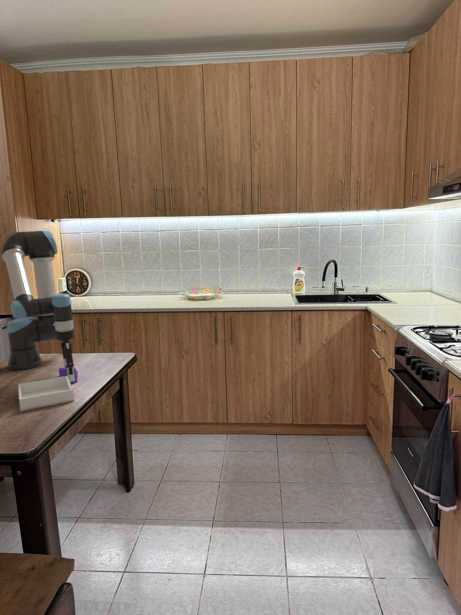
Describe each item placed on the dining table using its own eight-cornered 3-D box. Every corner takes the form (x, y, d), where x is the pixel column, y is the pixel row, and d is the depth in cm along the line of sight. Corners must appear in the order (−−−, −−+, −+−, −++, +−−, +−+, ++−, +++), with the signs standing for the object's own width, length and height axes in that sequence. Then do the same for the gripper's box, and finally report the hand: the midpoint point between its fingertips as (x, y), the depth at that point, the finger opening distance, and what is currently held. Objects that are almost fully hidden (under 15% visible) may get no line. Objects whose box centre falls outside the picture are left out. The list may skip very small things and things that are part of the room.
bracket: (77, 382, 191) (75, 367, 190) (60, 384, 189) (58, 369, 188) (77, 374, 202) (76, 359, 201) (61, 376, 200) (60, 361, 199)
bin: (19, 394, 178) (18, 384, 178) (68, 386, 186) (67, 375, 185) (20, 411, 162) (19, 399, 161) (74, 401, 170) (72, 389, 169)
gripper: (52, 325, 201) (58, 370, 205) (58, 336, 179) (63, 387, 183) (70, 323, 204) (75, 368, 208) (77, 334, 182) (82, 383, 186)
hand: (69, 377), depth 195 cm, fingers open, 13 cm apart
